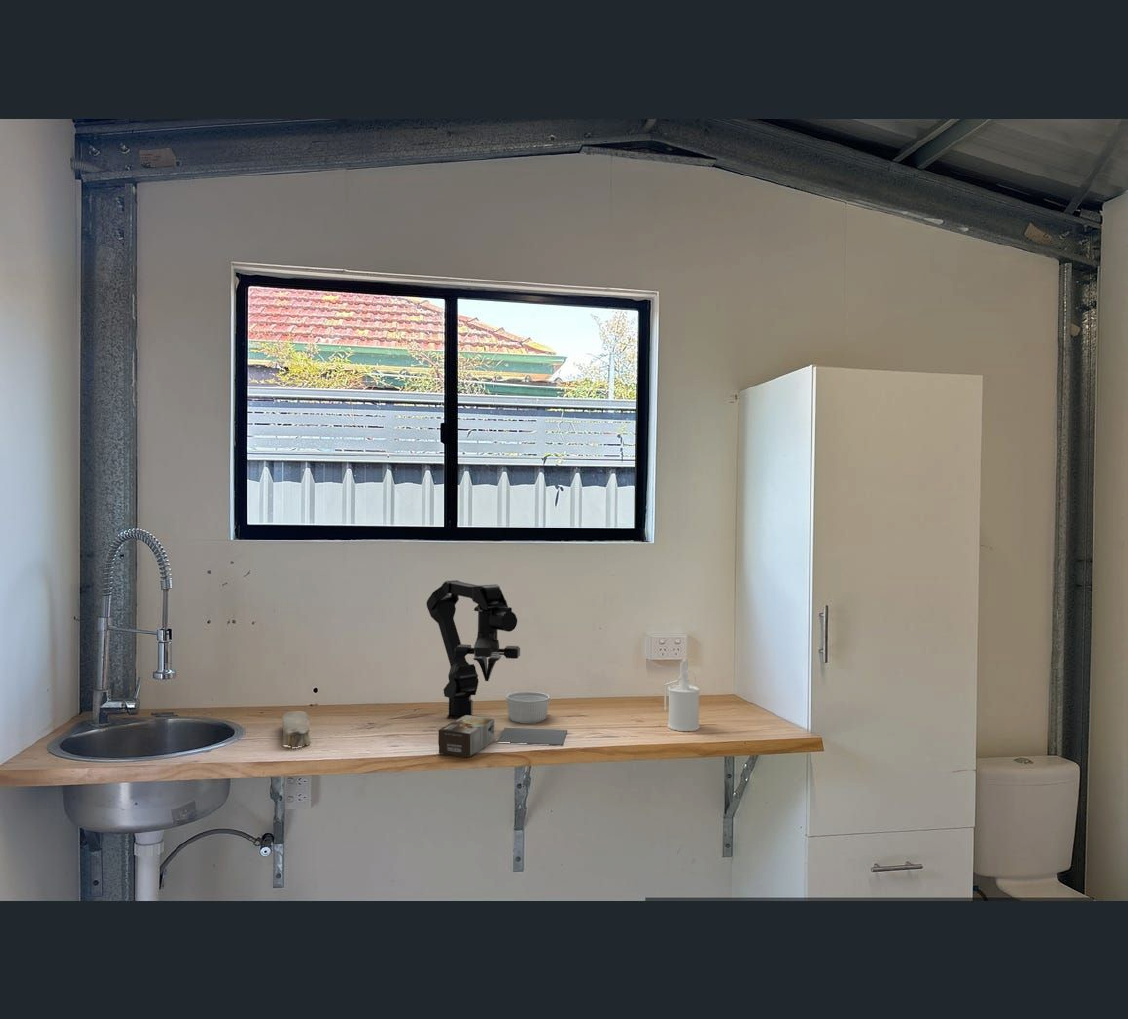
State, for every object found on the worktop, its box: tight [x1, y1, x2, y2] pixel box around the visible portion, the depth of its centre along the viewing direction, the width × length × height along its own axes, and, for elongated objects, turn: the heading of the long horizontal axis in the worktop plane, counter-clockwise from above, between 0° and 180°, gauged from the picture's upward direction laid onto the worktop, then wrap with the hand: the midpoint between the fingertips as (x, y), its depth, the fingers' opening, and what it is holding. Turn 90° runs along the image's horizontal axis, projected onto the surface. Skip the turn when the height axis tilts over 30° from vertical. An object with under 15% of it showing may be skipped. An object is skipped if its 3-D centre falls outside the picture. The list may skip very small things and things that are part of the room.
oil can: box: [663, 658, 701, 733], centre depth 228 cm, size 10×9×20 cm
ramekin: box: [505, 691, 551, 724], centre depth 235 cm, size 13×13×7 cm
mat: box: [495, 727, 568, 746], centre depth 216 cm, size 18×14×1 cm
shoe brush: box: [281, 710, 311, 748], centre depth 214 cm, size 24×8×5 cm, turn 21°
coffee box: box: [437, 715, 496, 759], centre depth 206 cm, size 9×6×16 cm
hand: (487, 680), depth 228 cm, fingers closed
